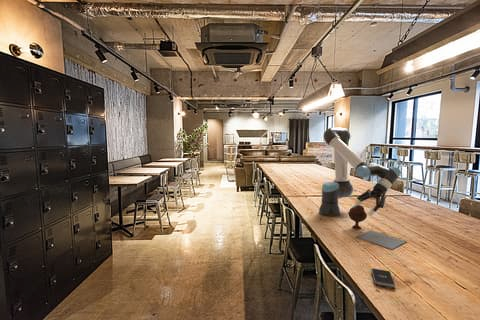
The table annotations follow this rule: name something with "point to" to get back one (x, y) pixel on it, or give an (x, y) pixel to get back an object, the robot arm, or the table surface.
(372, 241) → the grey mat
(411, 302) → the table surface
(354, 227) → the ice cream bowl
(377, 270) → the external hard drive
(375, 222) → the table surface
